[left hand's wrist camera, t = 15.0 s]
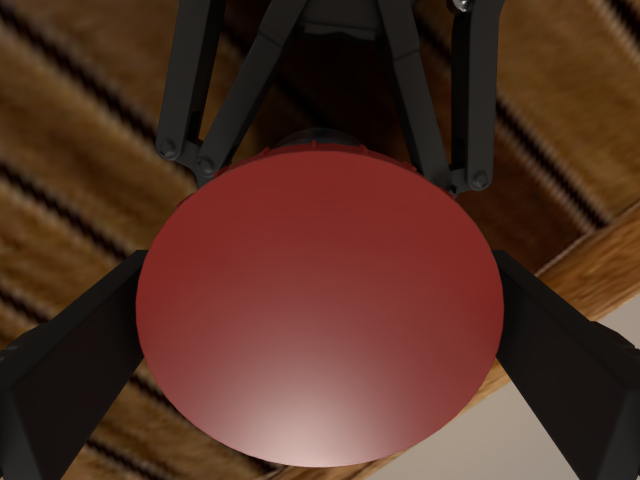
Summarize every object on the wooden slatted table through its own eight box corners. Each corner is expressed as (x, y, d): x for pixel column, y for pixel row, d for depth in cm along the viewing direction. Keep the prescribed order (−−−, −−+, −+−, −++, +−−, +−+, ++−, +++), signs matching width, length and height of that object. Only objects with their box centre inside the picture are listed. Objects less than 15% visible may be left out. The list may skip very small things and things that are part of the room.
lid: (232, 67, 9) (215, 60, 8) (551, 240, 11) (589, 262, 9) (116, 362, 13) (88, 398, 11) (378, 462, 14) (385, 506, 13)
